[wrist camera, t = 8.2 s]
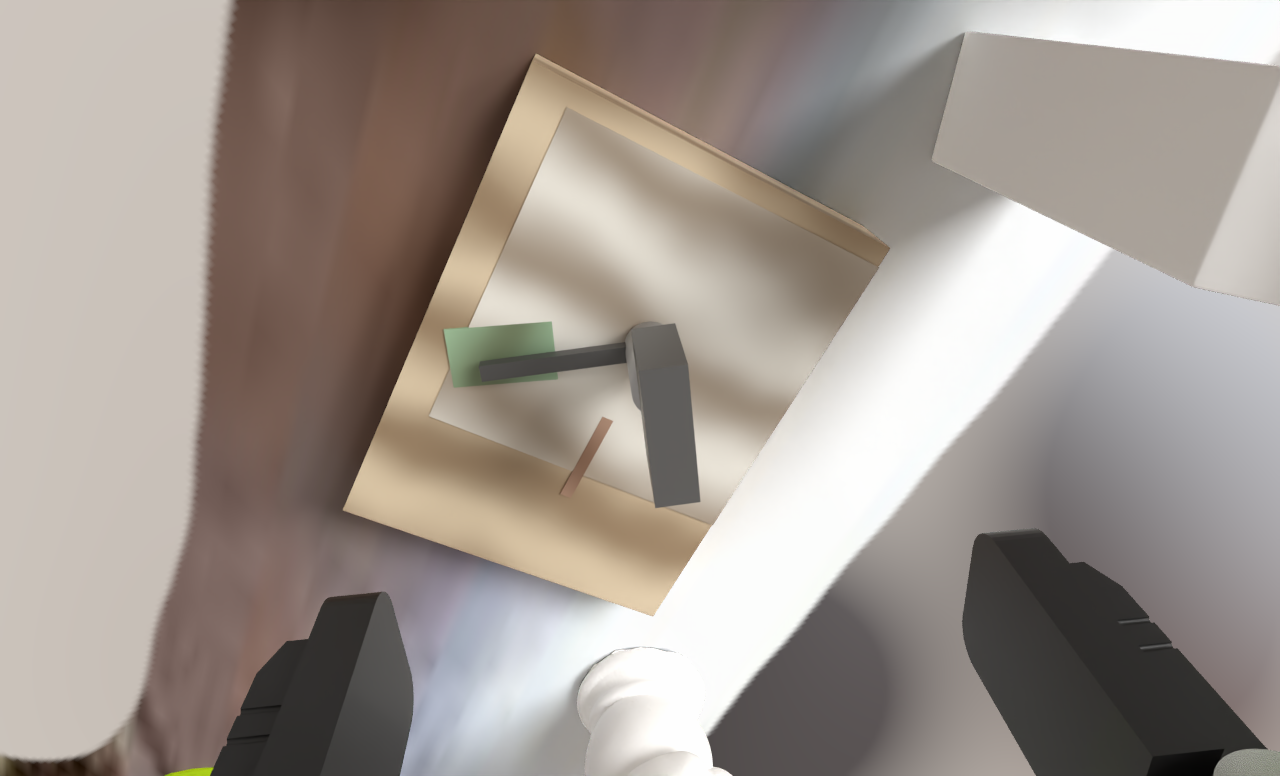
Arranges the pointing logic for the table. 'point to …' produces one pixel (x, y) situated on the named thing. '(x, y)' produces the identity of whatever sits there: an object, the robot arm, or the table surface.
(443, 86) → the table surface
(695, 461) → the lever
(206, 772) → the toy cauldron
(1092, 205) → the milk
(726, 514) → the table surface
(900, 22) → the table surface
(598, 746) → the cherub figurine
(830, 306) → the dial board
